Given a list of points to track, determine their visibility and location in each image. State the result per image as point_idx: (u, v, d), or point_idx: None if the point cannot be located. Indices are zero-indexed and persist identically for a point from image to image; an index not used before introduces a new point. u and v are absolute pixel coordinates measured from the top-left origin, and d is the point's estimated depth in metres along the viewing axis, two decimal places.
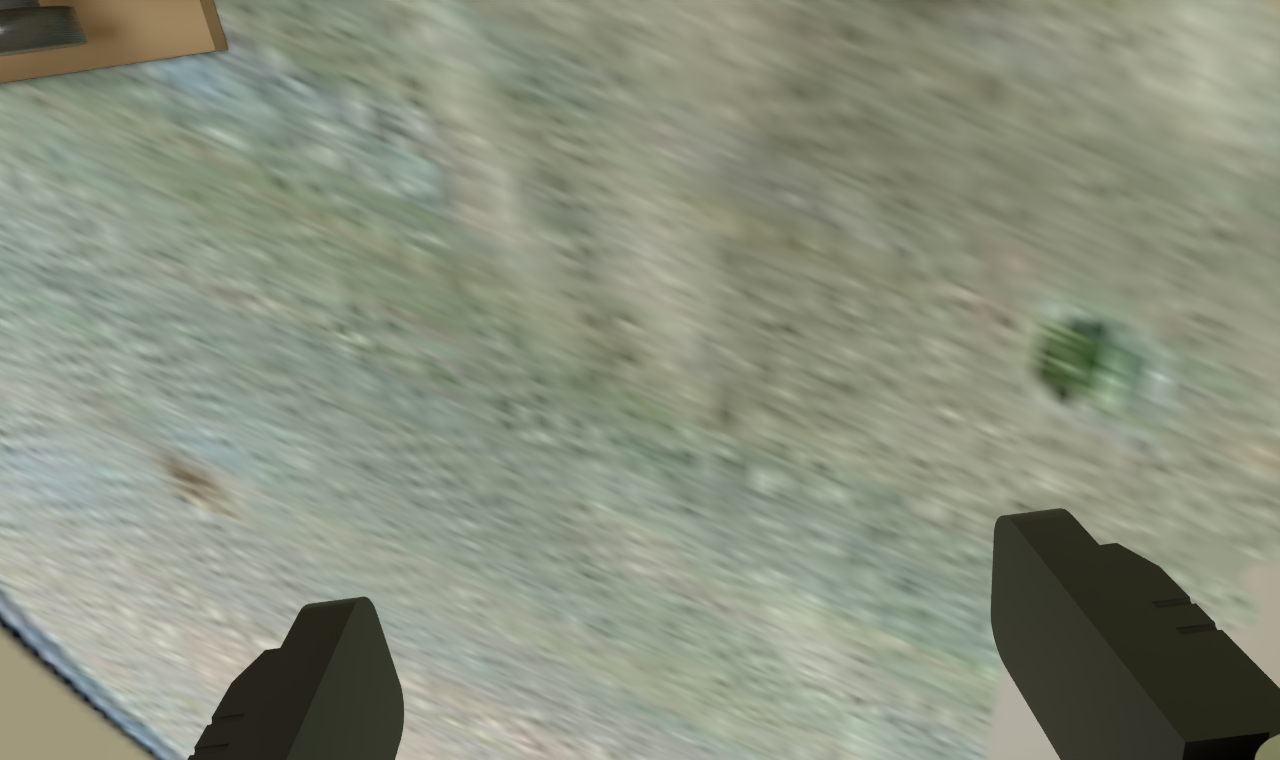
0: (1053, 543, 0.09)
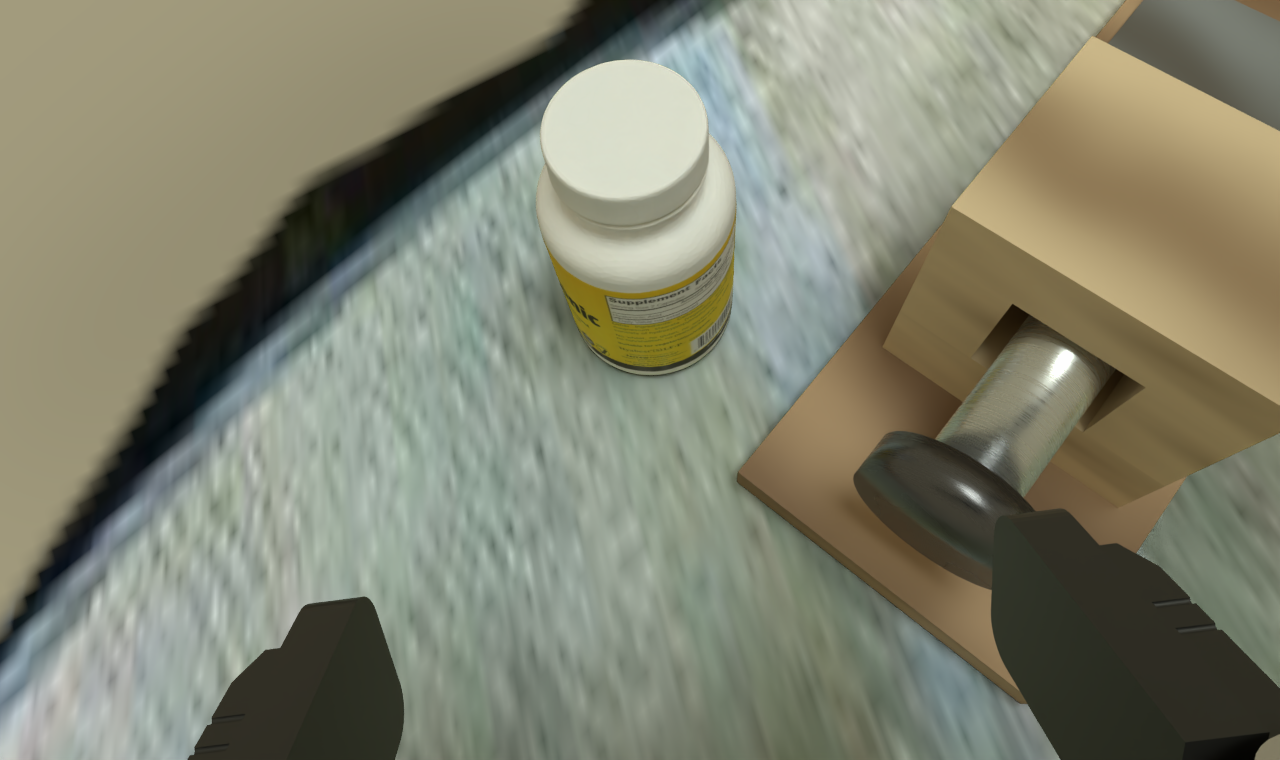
0: (1053, 543, 0.09)
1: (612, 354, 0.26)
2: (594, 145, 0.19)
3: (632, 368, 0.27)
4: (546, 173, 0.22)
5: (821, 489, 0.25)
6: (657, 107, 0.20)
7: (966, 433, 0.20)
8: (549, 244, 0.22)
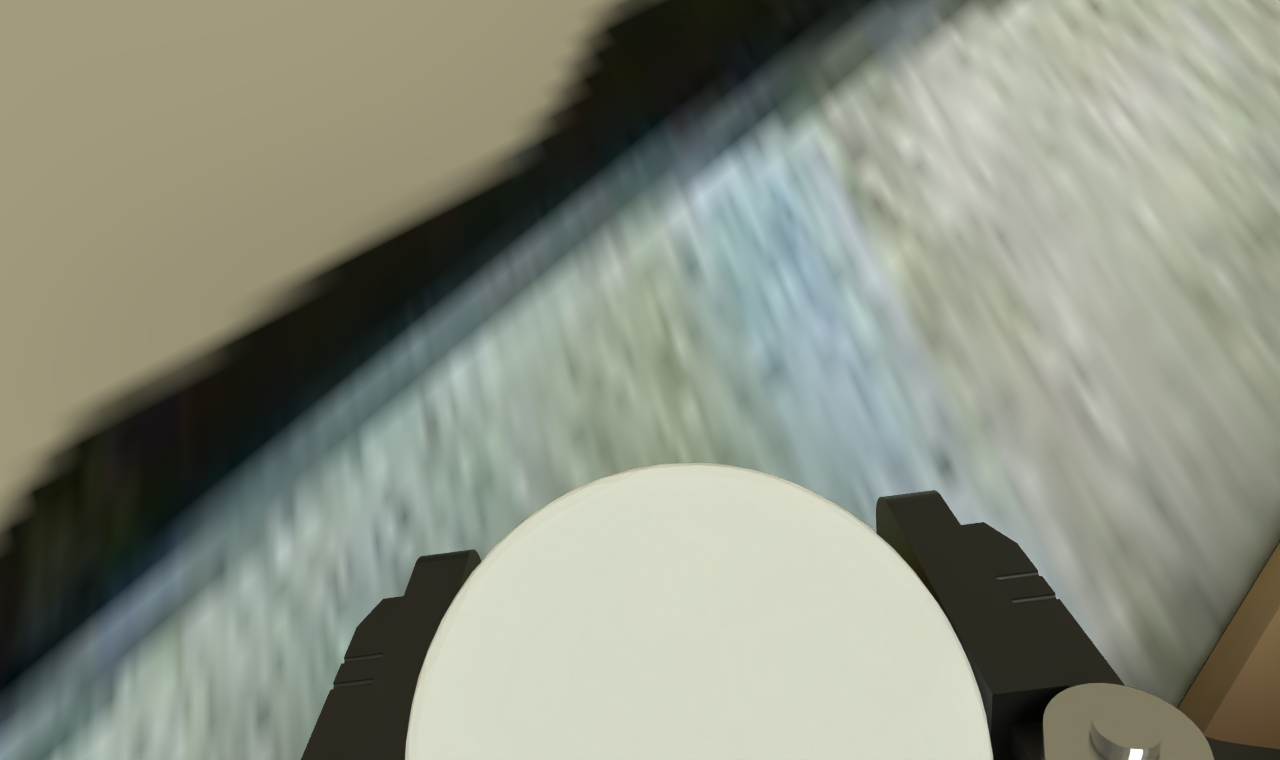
0: (918, 521, 0.10)
1: None
2: None
3: None
4: None
5: None
6: (809, 671, 0.06)
7: None
8: None
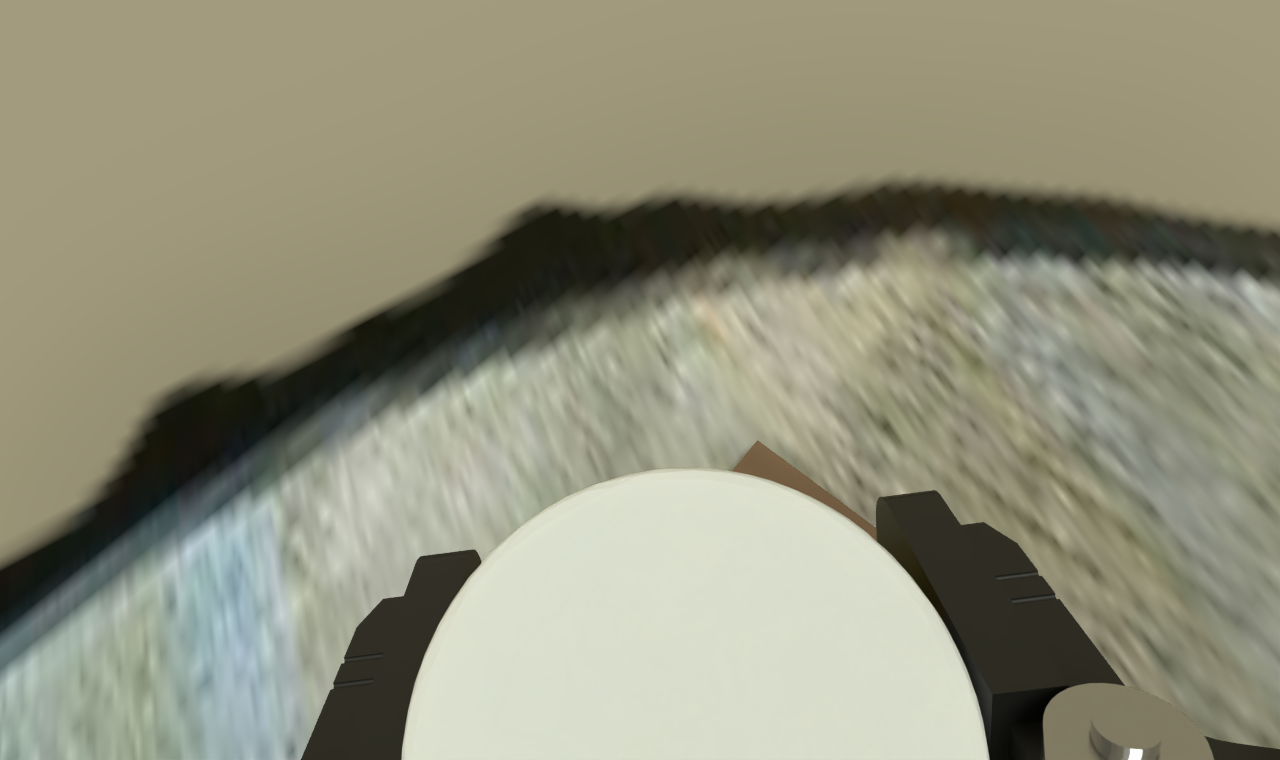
0: (918, 521, 0.10)
1: None
2: None
3: None
4: None
5: None
6: (807, 678, 0.06)
7: None
8: None
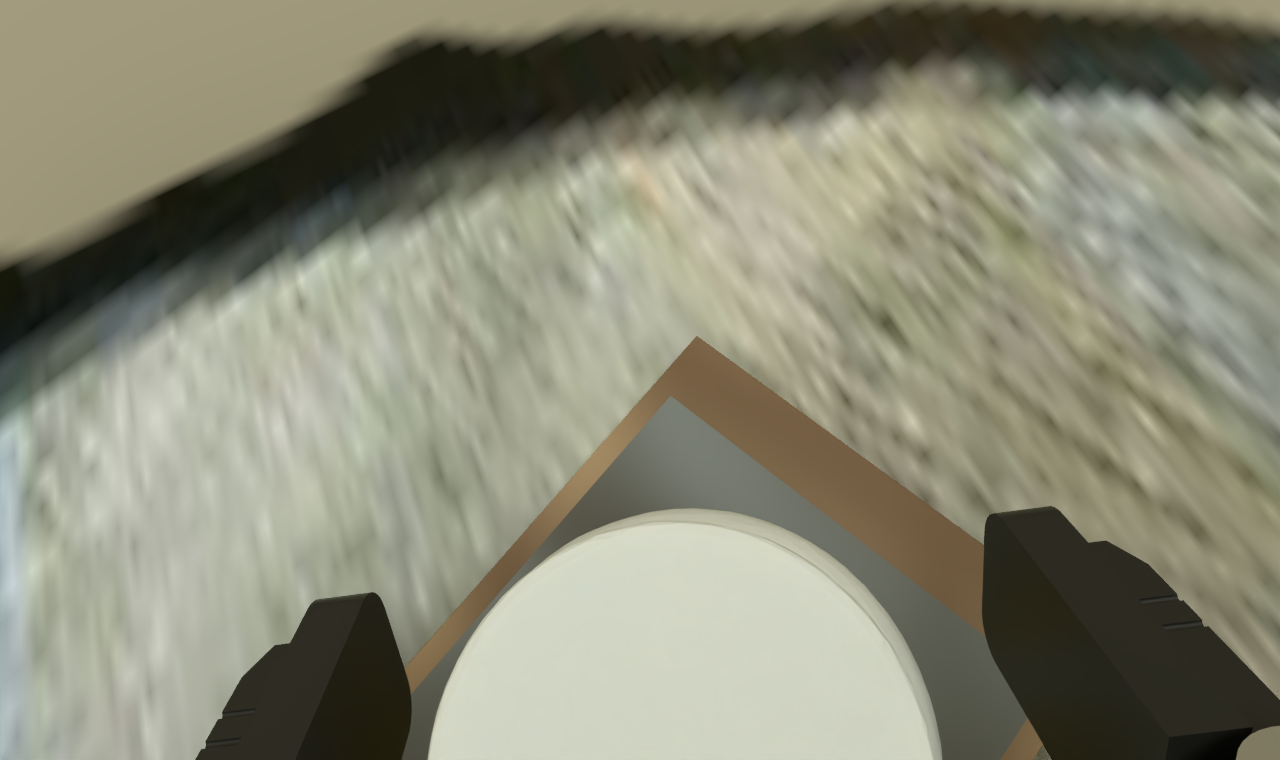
0: (1042, 540, 0.09)
1: None
2: None
3: None
4: None
5: None
6: (779, 709, 0.06)
7: None
8: None
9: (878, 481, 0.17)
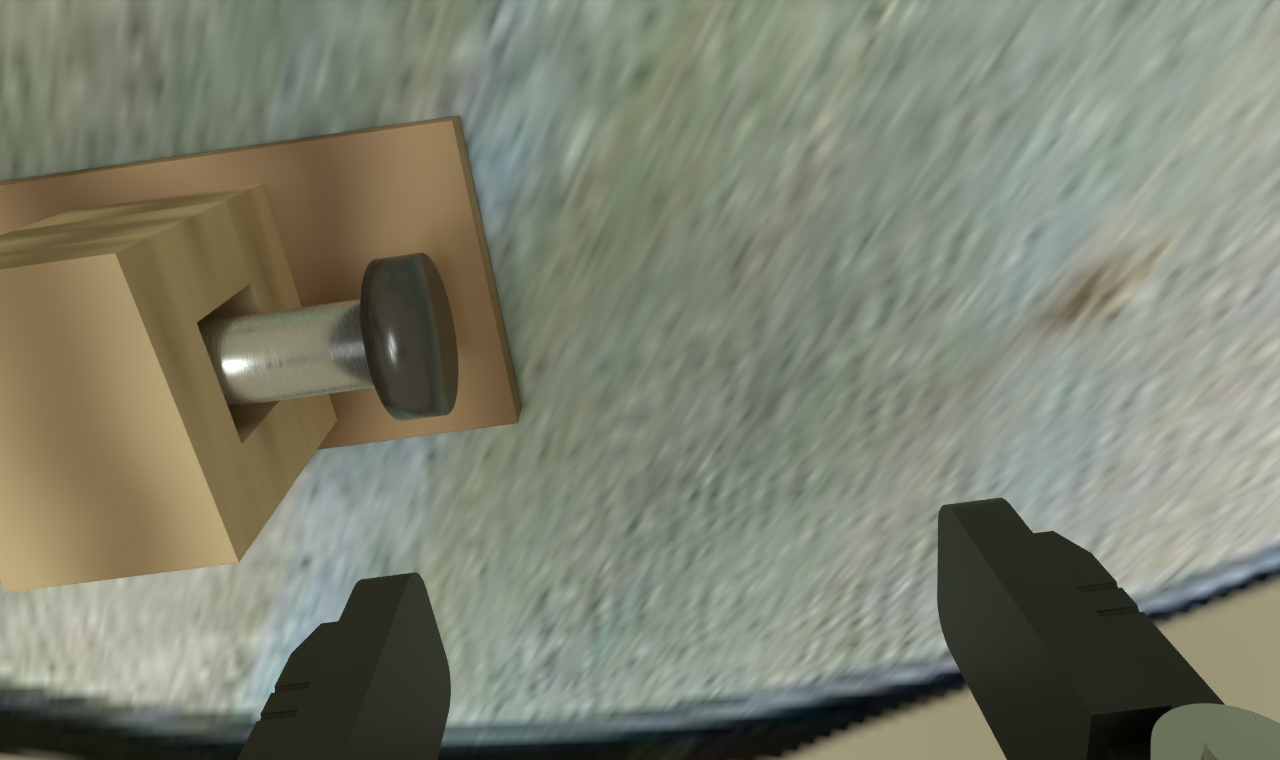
0: (989, 530, 0.10)
1: None
2: None
3: None
4: None
5: (471, 367, 0.28)
6: None
7: (355, 383, 0.22)
8: None
9: None
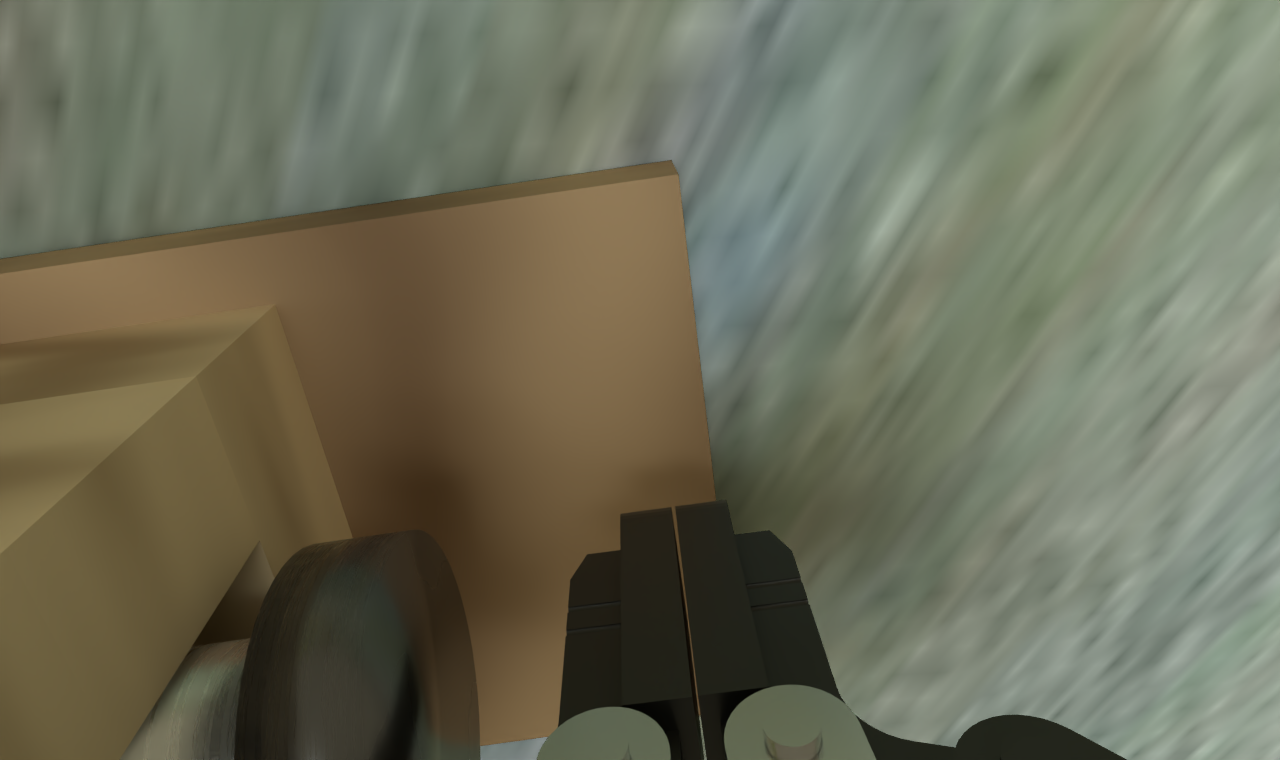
0: (697, 530, 0.10)
1: None
2: None
3: None
4: None
5: None
6: None
7: None
8: None
9: None
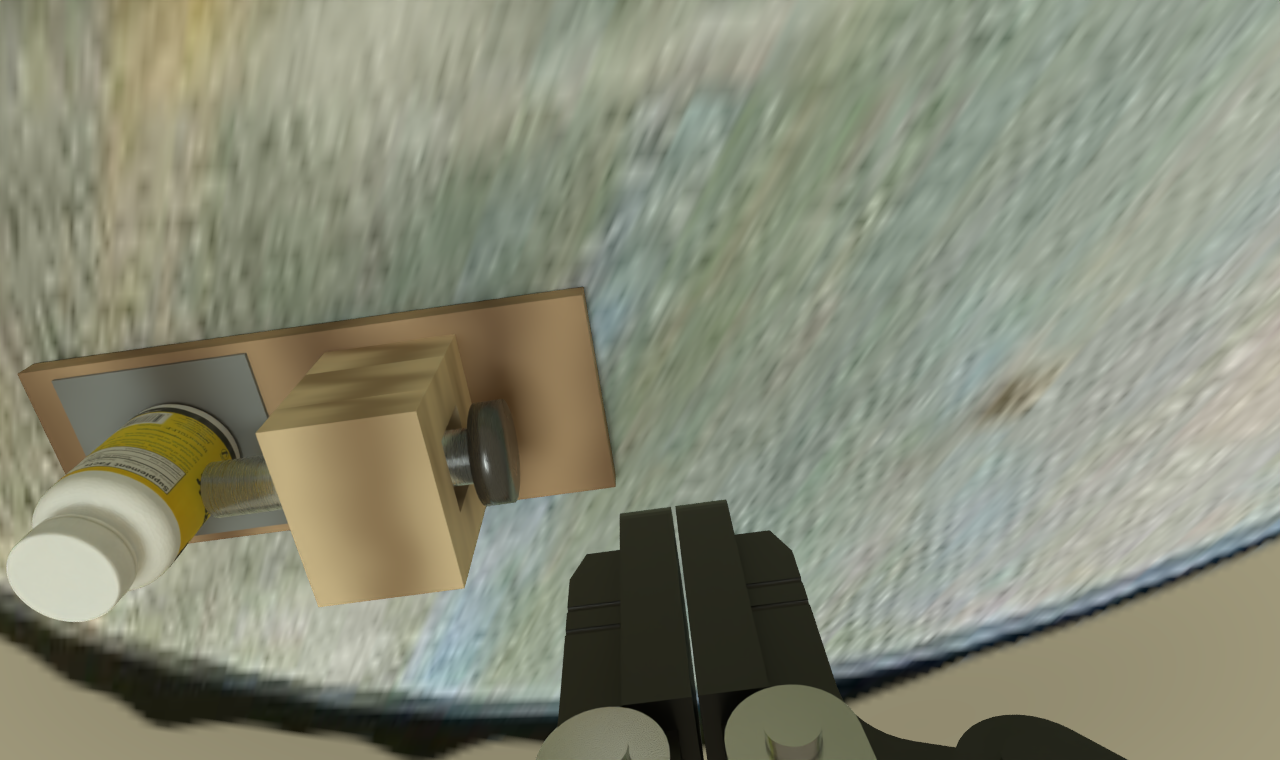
0: (698, 529, 0.10)
1: (219, 448, 0.38)
2: (86, 580, 0.31)
3: (218, 430, 0.38)
4: (145, 580, 0.33)
5: (585, 450, 0.40)
6: (35, 576, 0.30)
7: (459, 483, 0.35)
8: (173, 543, 0.33)
9: (67, 469, 0.40)
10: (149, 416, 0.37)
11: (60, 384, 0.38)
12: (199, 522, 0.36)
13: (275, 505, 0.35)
